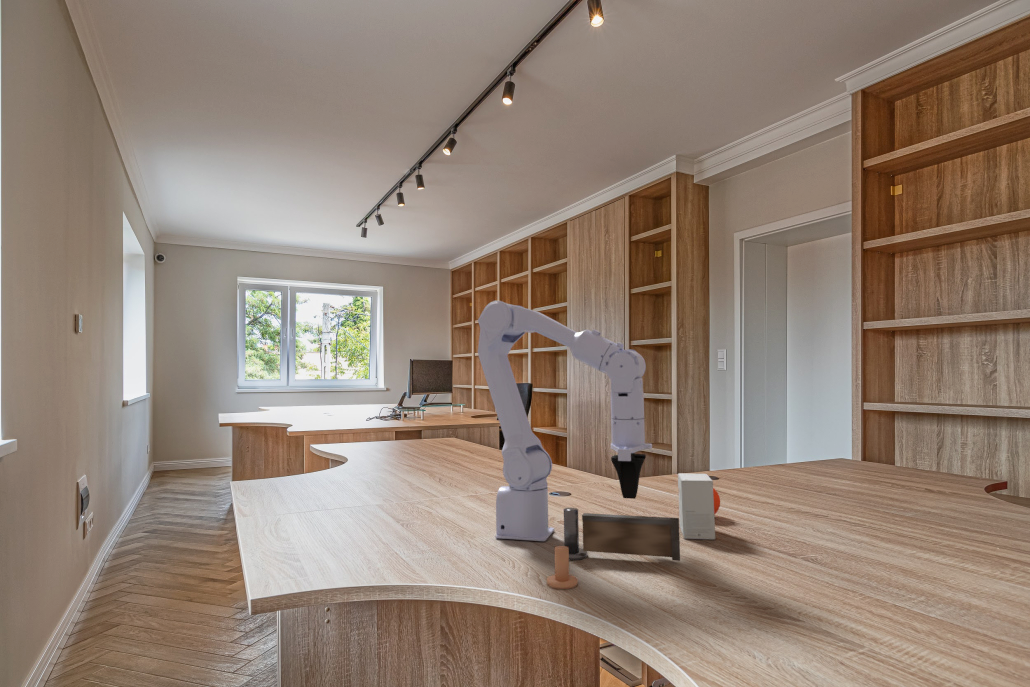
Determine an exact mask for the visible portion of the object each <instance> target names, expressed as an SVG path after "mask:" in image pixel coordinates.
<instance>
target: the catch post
mask: <svg viewBox="0 0 1030 687" xmlns="http://www.w3.org/2000/svg"><path fill="white" fill-rule="evenodd" d="M578 579H579V578H578V577H577V576H576V575H575V576H574V575H572V574H570V560H569V548H568V547H566V546H564V545H558V546H557V545H556V546H555V547H554V574H552V575H549V576H547V577H546V585H547V586H548V587H549V588H552V589H556V590H569V589H570V590H571V589H574V588H576V587H577V586H578V585H579V583H578V582H579V580H578Z"/></svg>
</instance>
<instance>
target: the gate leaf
mask: <svg viewBox="0 0 1030 687" xmlns="http://www.w3.org/2000/svg"><path fill="white" fill-rule="evenodd" d="M581 521H582V549H583V551H587V552H591V553H593V552H594V553H605V554H620V555H621V554H623V555H631V556H632V555H634V556H647V557H648V556H649V557H660V558H661V557H662V558H671V560H672V561H676V562H680V561H681V546H680V542H681V541H680V518H679V517H666V516H665V517H663V516H662V517H661V516H644V515H643V516H642V515H626V514H625V515H624V514H610V513H609V514H607V513H591V512H590V513H588V512H587V513H586V512H584V513H583V514H581Z"/></svg>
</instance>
